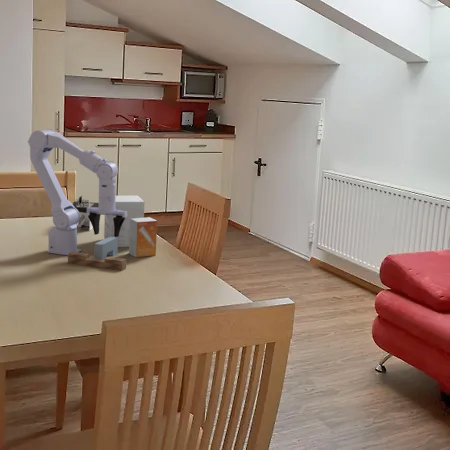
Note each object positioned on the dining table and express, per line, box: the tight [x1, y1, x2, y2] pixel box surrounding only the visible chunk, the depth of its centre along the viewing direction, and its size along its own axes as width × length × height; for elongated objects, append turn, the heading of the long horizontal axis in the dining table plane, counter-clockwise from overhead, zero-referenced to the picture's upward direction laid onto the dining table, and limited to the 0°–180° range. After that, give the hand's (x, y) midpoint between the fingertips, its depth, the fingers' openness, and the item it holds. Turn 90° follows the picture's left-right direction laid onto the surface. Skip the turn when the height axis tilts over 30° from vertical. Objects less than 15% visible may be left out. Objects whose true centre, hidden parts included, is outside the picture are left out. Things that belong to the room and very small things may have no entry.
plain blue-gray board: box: [93, 236, 118, 259], centre depth 227 cm, size 3×12×6 cm, turn 164°
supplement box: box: [103, 195, 145, 248], centre depth 246 cm, size 13×13×18 cm
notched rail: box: [67, 252, 127, 271], centre depth 217 cm, size 20×3×3 cm, turn 74°
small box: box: [128, 216, 158, 258], centre depth 232 cm, size 8×6×13 cm
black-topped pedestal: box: [72, 195, 99, 232], centre depth 267 cm, size 28×26×13 cm
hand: (106, 235), depth 226 cm, fingers open, 7 cm apart
